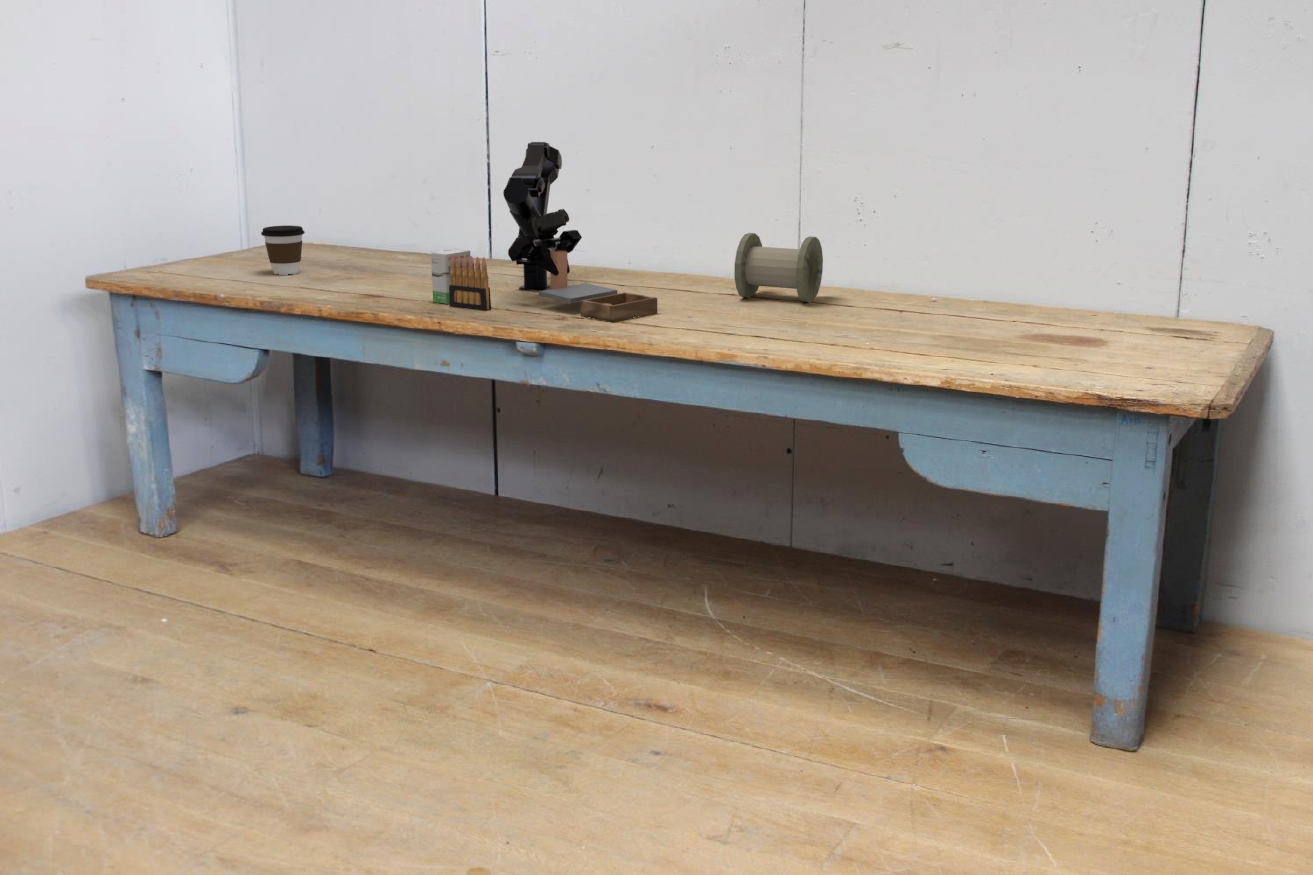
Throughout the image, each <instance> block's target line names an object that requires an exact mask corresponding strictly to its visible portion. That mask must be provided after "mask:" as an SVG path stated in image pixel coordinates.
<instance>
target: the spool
mask: <svg viewBox="0 0 1313 875" xmlns="http://www.w3.org/2000/svg"><path fill="white" fill-rule="evenodd" d="M821 244H822V243H821V241H820V239H819V238H817V236H807V237H805V238H804V240H803V241H802V243H801V245H800V248H789V247H788V248H786V247H769V246H763V243H762V241H761V238H760V236H759V235H758V234H756V233H755V232H748V233H745V234H744V235H743V236H742V237H741V239H740V241H739V243H738V246H737V249H736V253H735V258H734V275H733V276H734V282H735V283H734V284H735V288H736V291H737V293H738V295H739V296H740V297H741V298H743V297H745V298H744V299H750V298H752V297H751V296H752V295H754V296H755V295H756V294H757V292H758V290H759V287H767V288H768V287H769V288H779V289H791V290H792V289H794V290H796V294H797V295H798V299H799V301H801V303H803V302H808V303H807V304H810V303H812V302H813V300H814V299H816V298H817V296H818V293H819V291H820V288H821V285H822V284H821V283H822V278H823V277H822V276H823V270H824V269H823V268H824V267H823V264H824V257H823V247H822V245H821ZM749 297H750V298H749ZM814 301H815V300H814ZM809 302H810V303H809Z"/></svg>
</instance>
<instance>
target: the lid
mask: <svg viewBox="0 0 1313 875" xmlns="http://www.w3.org/2000/svg"><path fill="white" fill-rule="evenodd" d="M550 257H551V258H552V260H553V262H554V264H555V265H556V267H557V269H558V271H559V274H558V275H557V276H555V275H554V274H552V273H550V272H549V273H550V276H549V277H550V278H549V279H550V280H549V282H550V283H549V285H550V288H548V289H546V290H543V291H538V296H539V297H543V298H547V299H552V300H554V301H560V302H565V303H567V304H568V303H569V304H574V303H578V302H580V301H581V300H586V299H592V298H597V297H603V296H608V295H614V294H618V289H615V288H610V287H605V286H601V285H597V284H596V285H595V284H591V283H586V282H584V283H578V284H574V285H573V284H572V285H568V274H567V259H568V253H567V252H566V251H561V250H559V251H552V252H550Z"/></svg>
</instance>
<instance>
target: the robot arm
mask: <svg viewBox="0 0 1313 875" xmlns="http://www.w3.org/2000/svg"><path fill="white" fill-rule="evenodd" d="M562 163H563V160H562V155H561V152H560V150H559V149H557V148H555V147H553V146H551V145H550V143H548V142H547V141H546V142H545V141H531V142H529V143H527V148H526V149H525V156H524V160H523V163H522V165H521V167H518V168H515V169H514V170H513V172H512V174H511V177H509V178H508V181H507V184H506V186H505V188H504V189H503V198H504V200H505V203H506V204H507V207H508V210H509V213H510V215H511V217H512V218H513V219H514V220H515V223H516V224H517V226H518V228H519V229H518V234H517V237H516V238H515V240H514V241H513V242H512V244H511V245H510V247H509V248H508V250H507V253H508V257H509V258H510V260H511V261H512V263H513V262H515V263H516V265H517V266H518V265H523V285H522V286H519V287H518V290H521V291H522V290H523V291H538V292H539V291H543V290H549V289H550V284H548V272H549V273H552V274H554V275H555V276H557V275H558V274H559V271H558V269H557V267H556V265H555V264H554V262H553V260H552V258H551V257H550V252H552V251H559V250H561V251H566V252H567V254H570V253H571V252H573V250H574V249H575V248H576V246H577V245H578V244H579V242H580V241H581V240H582V238H583V237H582V235H581V233H580V232H579V231H578V229H577V230H576V229H570V230H563V231H562V232H561V233H560V235H559V236H558V237H554V236H556V235H557V234H558V233H559V230H558V229H560V228H561V227H565V226H567V223H568V222H569V221H570V216H569V214H568V212H567V211H566V209H564V208H562V209H557V211H554V212H553V211H552V212H548V208H549V207H548V206H549V199H550V191H551V185H552V184H553V183H554V182H555V181H556V180H557V179H558V178H559V172H560V170H562V166H563V164H562ZM570 272H571V269H570V264H569V259H568V258H567V275H568V274H569V273H570Z"/></svg>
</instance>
